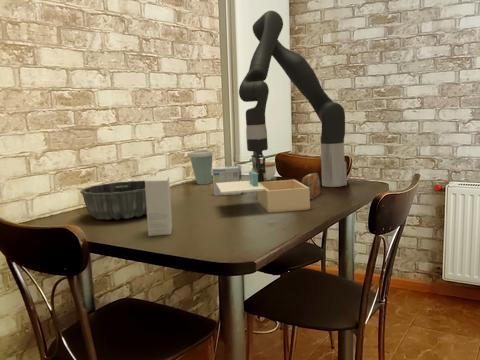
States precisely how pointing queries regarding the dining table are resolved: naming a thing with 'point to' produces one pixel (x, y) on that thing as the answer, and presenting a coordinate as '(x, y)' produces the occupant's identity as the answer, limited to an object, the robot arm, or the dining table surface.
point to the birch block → (263, 174)
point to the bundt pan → (116, 200)
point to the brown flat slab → (312, 184)
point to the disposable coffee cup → (202, 165)
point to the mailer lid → (241, 185)
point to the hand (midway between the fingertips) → (259, 183)
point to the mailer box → (284, 196)
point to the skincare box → (158, 205)
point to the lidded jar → (270, 169)
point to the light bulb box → (225, 177)
